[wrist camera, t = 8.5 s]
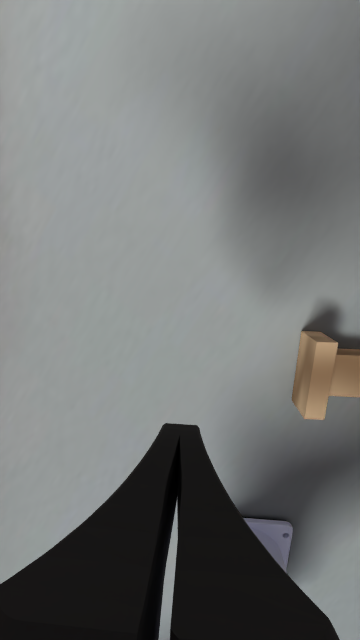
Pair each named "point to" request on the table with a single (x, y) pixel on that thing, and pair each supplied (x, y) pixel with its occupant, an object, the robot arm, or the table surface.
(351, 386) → the oak tray
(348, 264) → the table surface
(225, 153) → the table surface
